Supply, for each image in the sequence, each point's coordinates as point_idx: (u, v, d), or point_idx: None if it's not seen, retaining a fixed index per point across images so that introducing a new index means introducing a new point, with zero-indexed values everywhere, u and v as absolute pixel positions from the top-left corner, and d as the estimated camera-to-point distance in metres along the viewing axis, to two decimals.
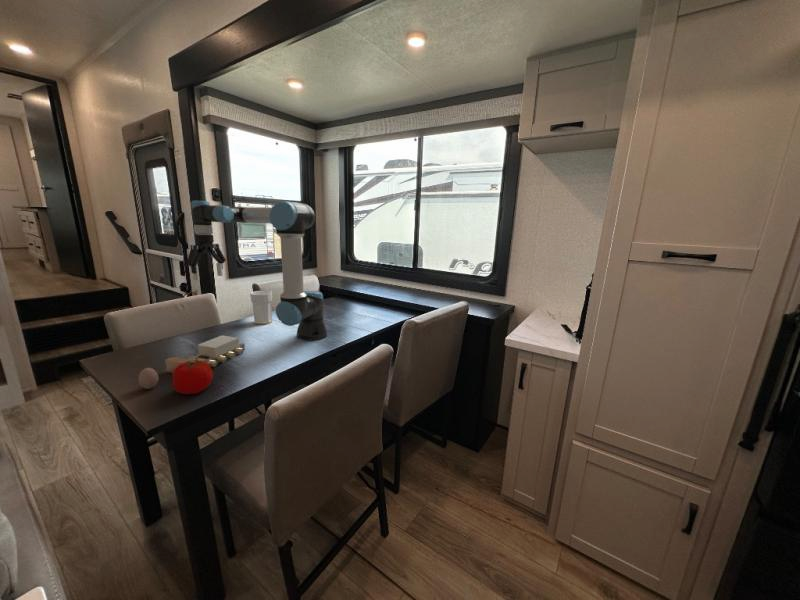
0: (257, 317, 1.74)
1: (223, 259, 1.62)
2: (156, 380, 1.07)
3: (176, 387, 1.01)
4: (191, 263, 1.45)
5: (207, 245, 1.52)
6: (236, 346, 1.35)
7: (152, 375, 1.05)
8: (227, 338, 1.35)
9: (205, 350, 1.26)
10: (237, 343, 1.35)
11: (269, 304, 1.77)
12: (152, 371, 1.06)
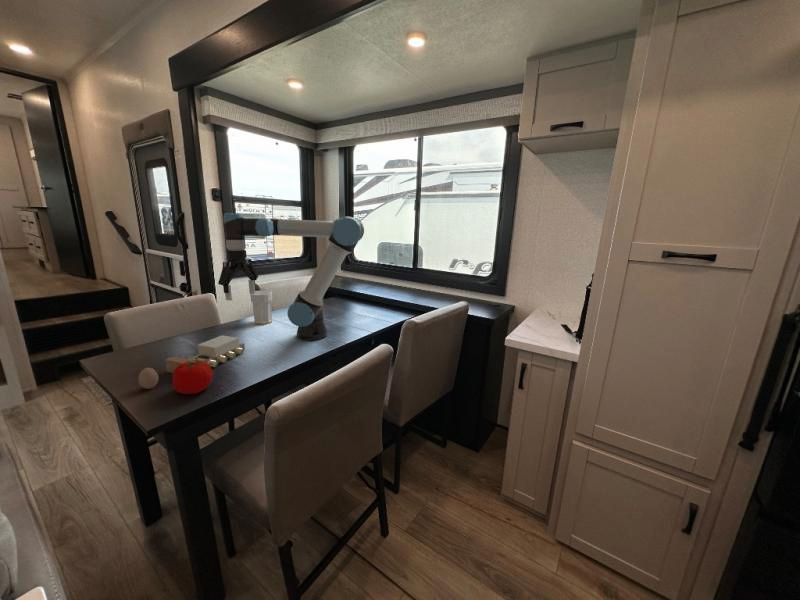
0: (257, 317, 1.74)
1: (256, 276, 1.48)
2: (156, 380, 1.07)
3: (176, 387, 1.01)
4: (224, 282, 1.31)
5: (240, 261, 1.39)
6: (236, 346, 1.35)
7: (152, 375, 1.05)
8: (227, 338, 1.35)
9: (205, 350, 1.26)
10: (237, 343, 1.35)
11: (269, 304, 1.77)
12: (152, 371, 1.06)
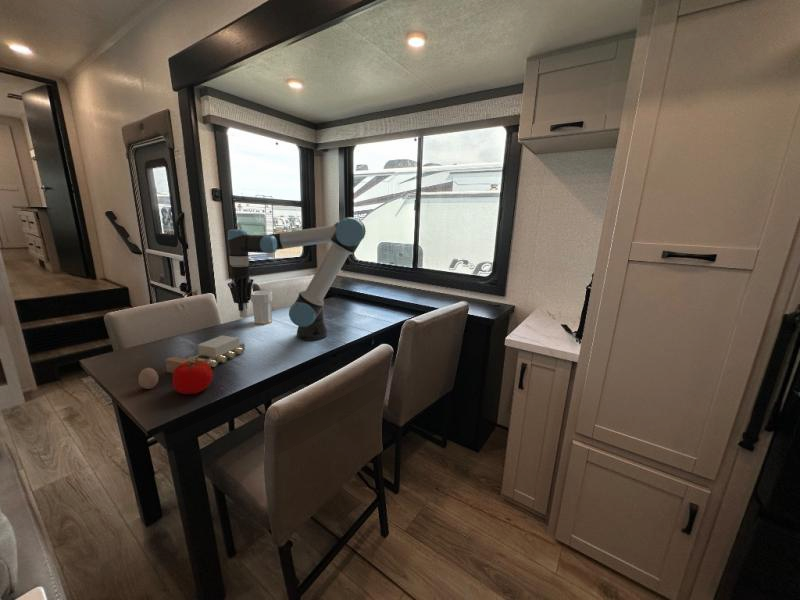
0: (257, 317, 1.74)
1: (249, 297, 1.44)
2: (156, 380, 1.07)
3: (176, 387, 1.01)
4: (238, 301, 1.38)
5: (243, 277, 1.39)
6: (236, 346, 1.35)
7: (152, 375, 1.05)
8: (227, 338, 1.35)
9: (205, 350, 1.26)
10: (237, 343, 1.35)
11: (269, 304, 1.77)
12: (152, 371, 1.06)
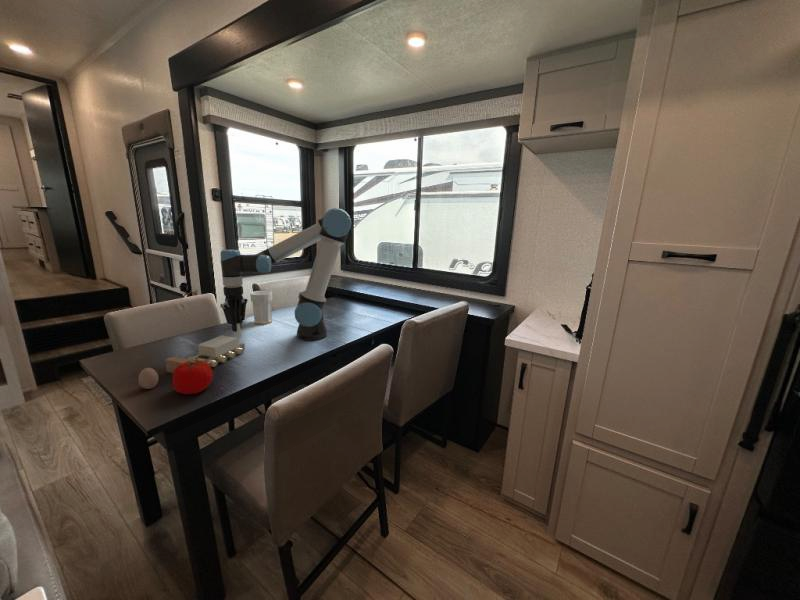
0: (257, 317, 1.74)
1: (242, 317, 1.42)
2: (156, 380, 1.07)
3: (176, 387, 1.01)
4: (232, 322, 1.36)
5: (236, 297, 1.37)
6: (236, 346, 1.35)
7: (152, 375, 1.05)
8: (227, 338, 1.35)
9: (205, 350, 1.26)
10: (237, 343, 1.35)
11: (269, 304, 1.77)
12: (152, 371, 1.06)
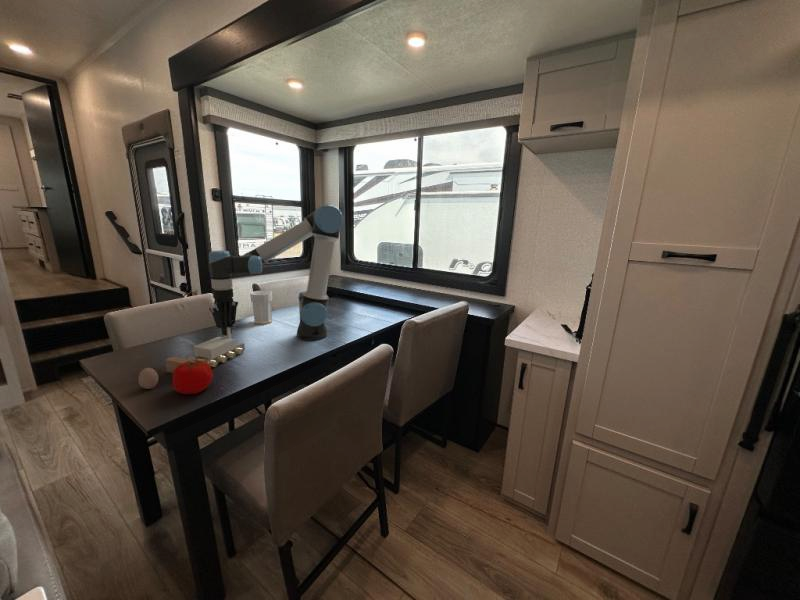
0: (257, 317, 1.74)
1: (233, 321, 1.36)
2: (156, 380, 1.07)
3: (176, 387, 1.01)
4: (222, 326, 1.31)
5: (226, 300, 1.32)
6: (233, 347, 1.33)
7: (152, 375, 1.05)
8: (223, 339, 1.33)
9: (201, 351, 1.25)
10: (233, 345, 1.34)
11: (269, 304, 1.77)
12: (152, 371, 1.06)
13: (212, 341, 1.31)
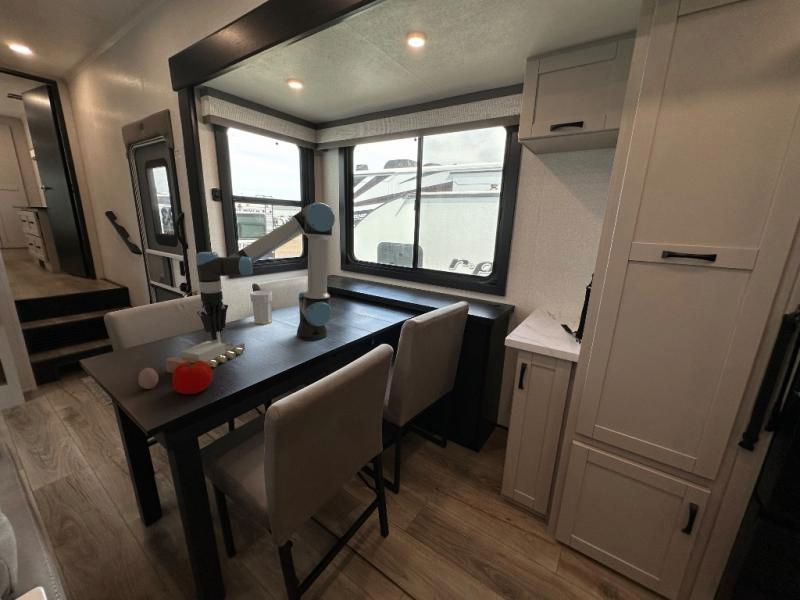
0: (257, 317, 1.74)
1: (223, 324, 1.31)
2: (156, 380, 1.07)
3: (176, 387, 1.01)
4: (211, 330, 1.26)
5: (215, 304, 1.27)
6: (223, 352, 1.28)
7: (152, 375, 1.05)
8: (213, 343, 1.28)
9: (189, 357, 1.20)
10: (223, 349, 1.29)
11: (269, 304, 1.77)
12: (152, 371, 1.06)
13: (201, 346, 1.26)
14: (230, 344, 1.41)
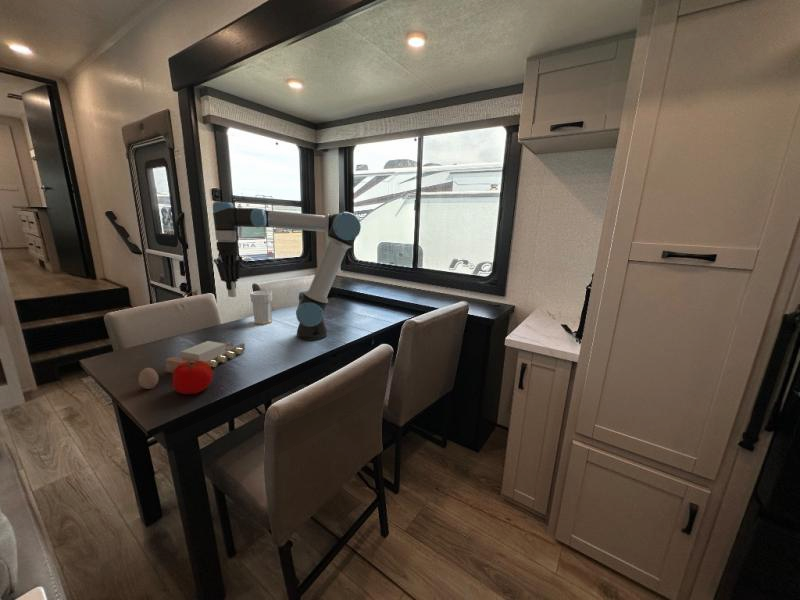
0: (257, 317, 1.74)
1: (237, 275, 1.36)
2: (156, 380, 1.07)
3: (176, 387, 1.01)
4: (226, 279, 1.30)
5: (230, 254, 1.31)
6: (223, 352, 1.28)
7: (152, 375, 1.05)
8: (213, 343, 1.28)
9: (189, 357, 1.20)
10: (223, 349, 1.29)
11: (269, 304, 1.77)
12: (152, 371, 1.06)
13: (201, 345, 1.26)
14: (230, 344, 1.41)
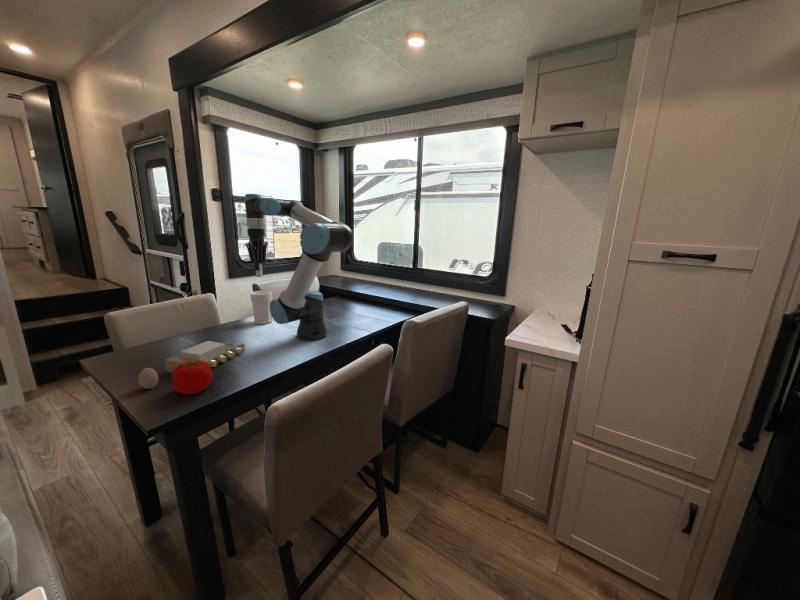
0: (257, 317, 1.74)
1: (264, 258, 1.56)
2: (156, 380, 1.07)
3: (176, 387, 1.01)
4: (255, 260, 1.51)
5: (258, 239, 1.52)
6: (223, 352, 1.28)
7: (152, 375, 1.05)
8: (213, 343, 1.28)
9: (189, 357, 1.20)
10: (223, 349, 1.29)
11: (269, 304, 1.77)
12: (152, 371, 1.06)
13: (201, 345, 1.26)
14: (230, 344, 1.41)
